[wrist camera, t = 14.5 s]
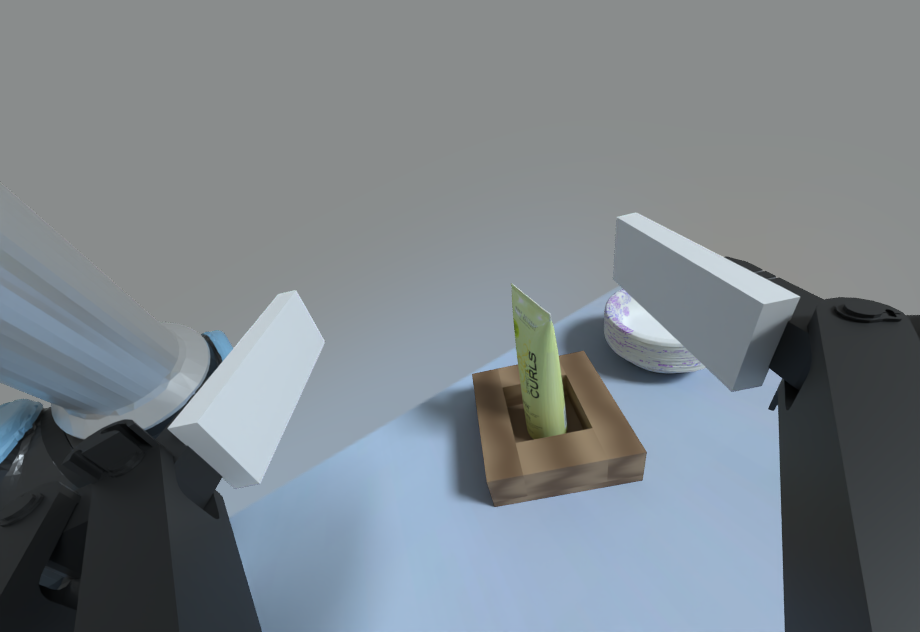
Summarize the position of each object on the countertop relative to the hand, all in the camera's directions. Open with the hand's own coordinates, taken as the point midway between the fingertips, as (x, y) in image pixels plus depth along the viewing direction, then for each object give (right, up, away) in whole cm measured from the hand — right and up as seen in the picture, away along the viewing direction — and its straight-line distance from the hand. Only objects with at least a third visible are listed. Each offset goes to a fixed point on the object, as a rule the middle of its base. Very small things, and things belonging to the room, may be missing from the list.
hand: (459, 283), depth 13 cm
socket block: (+11, -16, +28) cm, 34 cm away
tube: (+11, -16, +28) cm, 34 cm away
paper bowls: (+30, -7, +35) cm, 47 cm away
